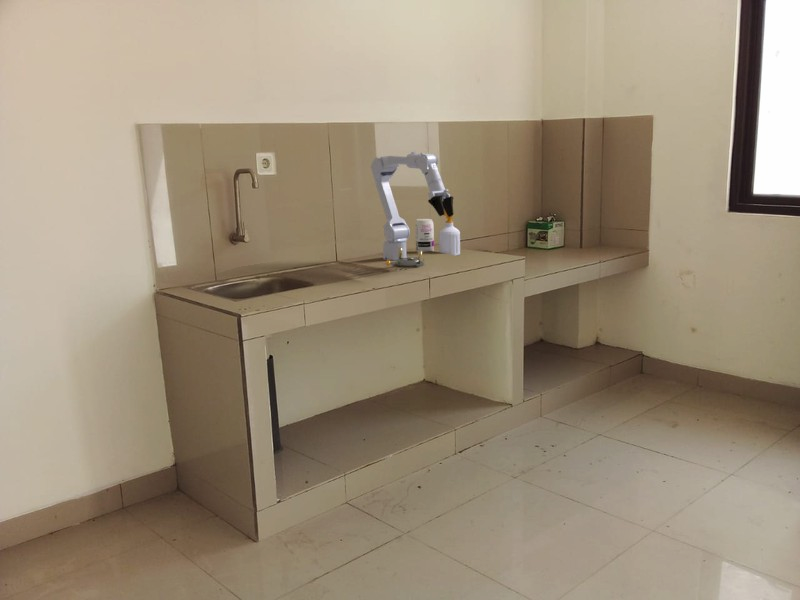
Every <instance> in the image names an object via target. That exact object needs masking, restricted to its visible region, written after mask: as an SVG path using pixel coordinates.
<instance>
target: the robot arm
mask: <svg viewBox="0 0 800 600" xmlns="http://www.w3.org/2000/svg"><path fill="white" fill-rule="evenodd" d="M438 164H439V160H438V157H437V155H436V154H435V153H425V152H420V153H417V152H416V151H411V153H408V154H407V156H405V155H386V156H385V155H384V156H380V157H375V158H373V160H372V162H371V165H370V169H371V172H372V174H373V175H372V176H373V178H374V184H375V186H376V190H377V192H378V197H379V198H380V202H381V203H380V204H381V206H382V209H383V212H384V215H385V219H386V221H385V223H384V224H383V230H384V238H385V239H386V240H385V241H384V242H383V245H382V255H383V260H384V261H387V260H390V261H397V259H399V255H398V248H402V257H403V258H407V255H408V254H407V241H408V239H409V237H410V235H411V230H410V228H409V225H408V224H407V223H406V220H405V219H404V218H402V217H400V215H399V211H398V207H397V205H396V201H395V198H394V195H393V192H392V189H391V186H390V182H389V181H390V179H392V177H393V176H394V174H395V173H396V172H397V170H398V167H400V165H406V167H407V168H409V169H418V170H421V173H422V174H423V175H424V179H425V180H426V181H425V182H426V184H427V187H428V189H429V192H428V193H427V196H428V197H429V198H430V199H428V200H427V202H428V204H430V205H431V207H433V209H434V210H435V211H436V213H437V214H438V216H439V217H442V216H444V214H445V211H446V213H447V215H448V217H451V216H452V217H454V216H455V215H454V214H455V212H454V206H453V205H454V201H453V199H454V196H451V194H450V193H448V192H449V191H450V190H449V189H448V188H445V185H444V183H443V180H442V177H441V174H440V172H439V169H438ZM454 200H455V199H454ZM444 209H445V211H444ZM453 215H454V216H453Z"/></svg>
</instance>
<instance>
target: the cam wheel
mask: <svg viewBox="0 0 800 600" xmlns="http://www.w3.org/2000/svg"><path fill="white" fill-rule="evenodd" d="M398 255H399V259H397V260H396V261H392V260H385V265H386V266H391V265H392V266H394V265H396V266H397V267H401V268H417V267H422V266H424V265H425V259H424V257H423V252H422V251H419V252H417V257H415V256H414V257H413V256H409V257H407V258H403V257H402V248H398Z"/></svg>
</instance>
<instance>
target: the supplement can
mask: <svg viewBox="0 0 800 600" xmlns="http://www.w3.org/2000/svg"><path fill="white" fill-rule="evenodd" d="M414 225H415V227H414V229H415V251H416V253H418V252H419V251H422V253H423V252H434V251H435V231H434V229H435V228H434V227H435V226H434V221H433V219H432V218H417V219H416V221H415V223H414Z"/></svg>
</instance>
